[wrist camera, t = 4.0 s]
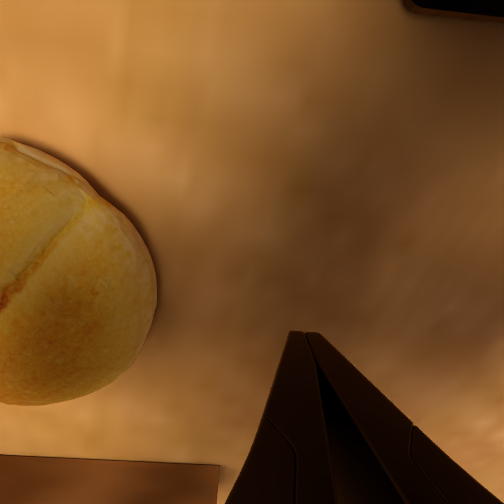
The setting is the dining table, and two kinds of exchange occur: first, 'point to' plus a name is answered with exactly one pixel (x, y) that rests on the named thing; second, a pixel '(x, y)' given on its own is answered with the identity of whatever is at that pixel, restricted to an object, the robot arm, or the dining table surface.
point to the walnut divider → (104, 482)
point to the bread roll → (65, 282)
